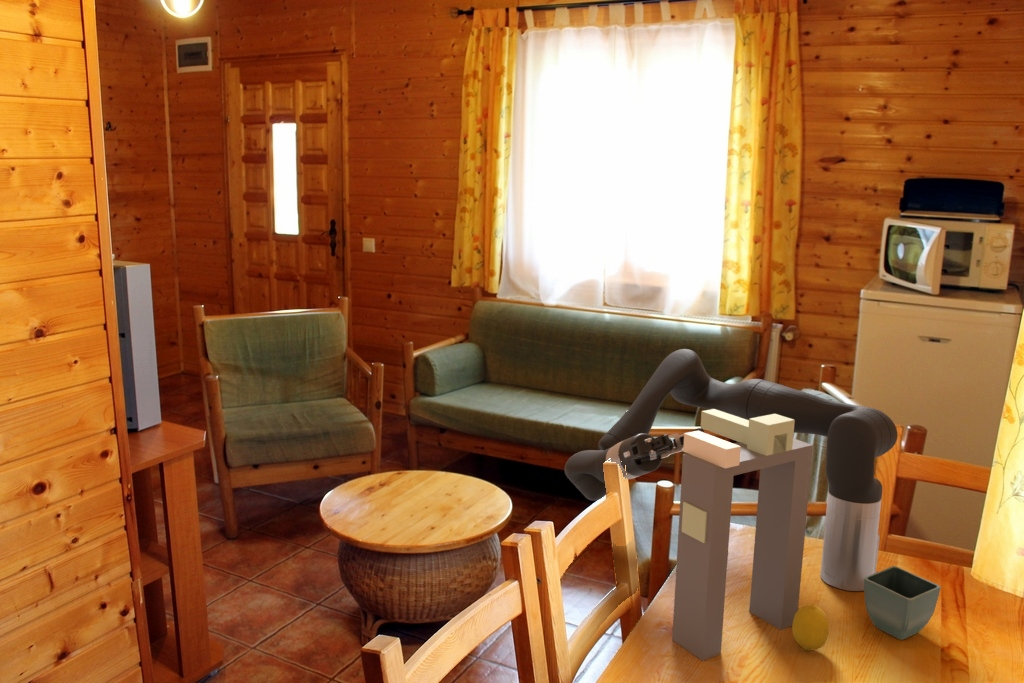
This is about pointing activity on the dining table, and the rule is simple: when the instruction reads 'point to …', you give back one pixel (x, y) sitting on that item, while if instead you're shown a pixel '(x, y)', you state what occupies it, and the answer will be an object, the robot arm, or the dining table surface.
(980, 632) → the dining table surface
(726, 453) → the cream bar
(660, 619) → the dining table surface
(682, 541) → the grey arch
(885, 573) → the flower pot
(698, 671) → the dining table surface
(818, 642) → the lemon
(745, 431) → the pale yellow block
